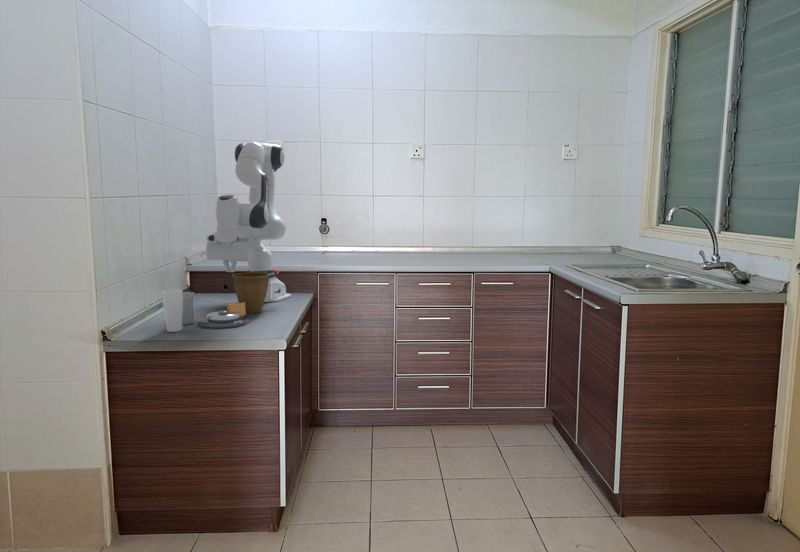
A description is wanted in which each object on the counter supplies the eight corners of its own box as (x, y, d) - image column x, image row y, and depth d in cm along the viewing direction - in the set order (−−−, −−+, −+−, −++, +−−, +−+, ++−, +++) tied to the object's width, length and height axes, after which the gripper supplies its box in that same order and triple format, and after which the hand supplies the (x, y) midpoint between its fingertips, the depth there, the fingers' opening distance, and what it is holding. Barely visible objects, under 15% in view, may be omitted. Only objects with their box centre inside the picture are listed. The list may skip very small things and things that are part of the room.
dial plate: (224, 315, 237) (224, 312, 237) (259, 320, 228) (259, 317, 228) (186, 325, 221) (186, 321, 221) (223, 330, 212) (223, 326, 212)
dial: (219, 324, 216) (218, 310, 215) (200, 319, 224) (200, 306, 223) (253, 317, 228) (253, 303, 227) (235, 313, 235) (234, 300, 235)
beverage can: (196, 321, 227) (195, 291, 225) (190, 325, 220) (188, 294, 218) (180, 321, 227) (178, 291, 225) (173, 325, 220) (171, 294, 219)
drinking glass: (173, 333, 207) (171, 292, 205) (160, 331, 211) (158, 290, 209) (188, 330, 213) (186, 289, 211) (175, 327, 216) (173, 288, 214)
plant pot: (251, 317, 235) (250, 278, 233) (226, 313, 243) (224, 275, 241) (277, 310, 247) (276, 273, 245) (253, 307, 255) (251, 271, 253)
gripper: (255, 237, 227) (257, 272, 229) (214, 235, 235) (215, 269, 237) (245, 238, 221) (246, 274, 223) (203, 236, 229) (204, 271, 231)
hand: (230, 271), depth 230 cm, fingers closed
